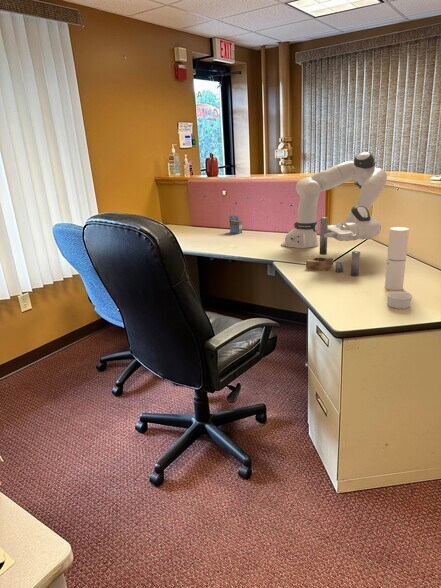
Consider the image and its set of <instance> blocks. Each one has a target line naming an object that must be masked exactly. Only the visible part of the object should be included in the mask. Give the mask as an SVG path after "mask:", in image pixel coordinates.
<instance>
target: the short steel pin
mask: <svg viewBox="0 0 441 588" xmlns="http://www.w3.org/2000/svg"><path fill="white" fill-rule="evenodd" d="M335 273H338V274H341V273H344V262H343V261H336V262H335Z"/></svg>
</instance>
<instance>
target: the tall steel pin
mask: <svg viewBox="0 0 441 588" xmlns="http://www.w3.org/2000/svg"><path fill="white" fill-rule="evenodd" d="M319 218H320V221H319V222H320V223H319V224H320V225H319V226H320V227H319V232H320V234H319V256H320V255H321V256H326V255H327V254H328V237H324V236H323V234H324V233H327V232H328V225H329V223H328V222H329V217H326V216H322V217H319Z"/></svg>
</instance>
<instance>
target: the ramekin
mask: <svg viewBox="0 0 441 588" xmlns="http://www.w3.org/2000/svg"><path fill="white" fill-rule="evenodd" d="M386 297H387V298H386V301H387V302H386V304H387V306H388V307H390V308H392V309H396V310H405V309H408V308H410V307H411V302H412V298H413V294H411V293H410V292H407V291H401V290H391V291H388V292H387V293H386Z"/></svg>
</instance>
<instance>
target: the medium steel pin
mask: <svg viewBox="0 0 441 588" xmlns="http://www.w3.org/2000/svg"><path fill="white" fill-rule="evenodd" d="M360 258H361V251H357V250H354V251H352V252H351V260H350V261H351V263H350V276H352V277H358V276H359V273H360V272H359V271H360V260H361V259H360Z"/></svg>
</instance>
